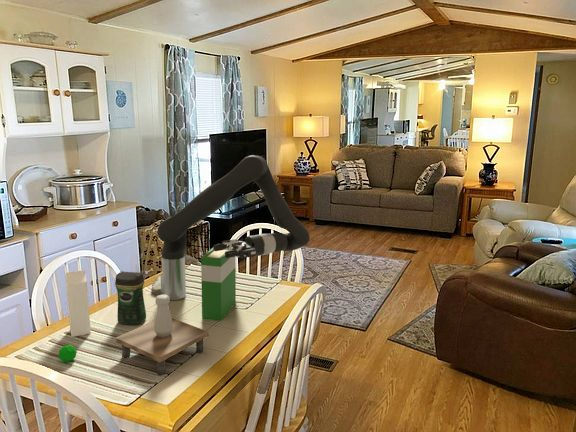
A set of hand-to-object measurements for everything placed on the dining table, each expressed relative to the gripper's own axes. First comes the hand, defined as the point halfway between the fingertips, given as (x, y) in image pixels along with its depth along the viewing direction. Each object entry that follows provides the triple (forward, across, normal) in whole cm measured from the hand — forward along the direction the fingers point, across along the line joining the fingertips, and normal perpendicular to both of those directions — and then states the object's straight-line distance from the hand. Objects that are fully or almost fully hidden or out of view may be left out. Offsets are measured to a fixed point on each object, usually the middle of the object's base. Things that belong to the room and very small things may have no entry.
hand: (219, 251), depth 159 cm
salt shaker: (+22, +5, +23) cm, 32 cm away
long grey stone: (-3, -55, +30) cm, 63 cm away
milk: (+41, -24, +30) cm, 56 cm away
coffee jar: (+23, -23, +30) cm, 44 cm away
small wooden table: (+22, +5, +29) cm, 37 cm away
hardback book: (-8, -15, +29) cm, 34 cm away
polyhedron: (+48, -6, +30) cm, 57 cm away
